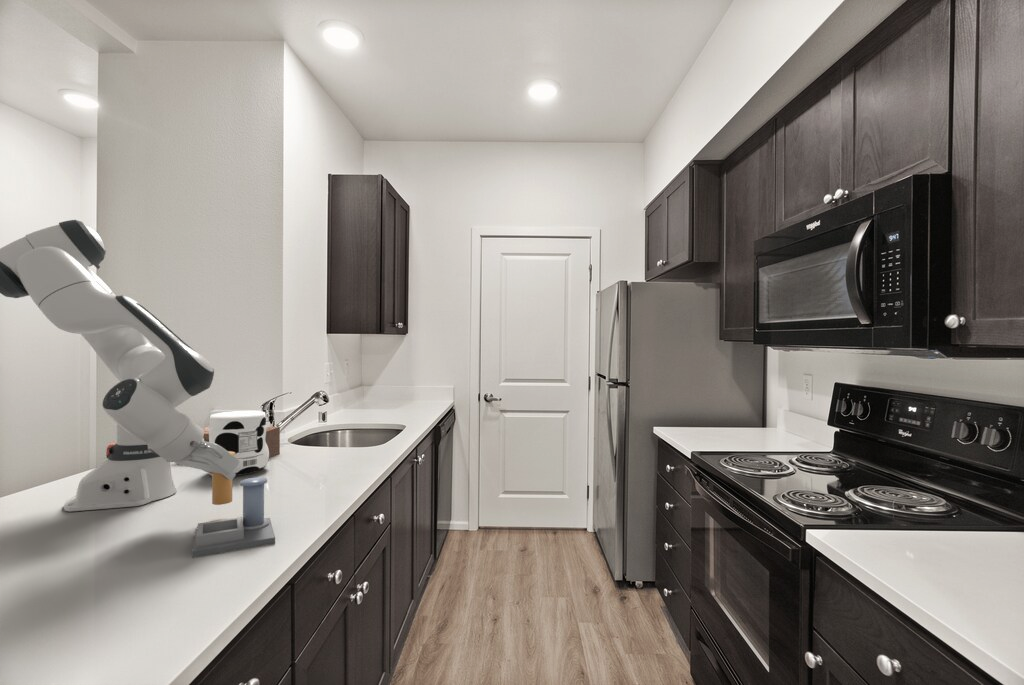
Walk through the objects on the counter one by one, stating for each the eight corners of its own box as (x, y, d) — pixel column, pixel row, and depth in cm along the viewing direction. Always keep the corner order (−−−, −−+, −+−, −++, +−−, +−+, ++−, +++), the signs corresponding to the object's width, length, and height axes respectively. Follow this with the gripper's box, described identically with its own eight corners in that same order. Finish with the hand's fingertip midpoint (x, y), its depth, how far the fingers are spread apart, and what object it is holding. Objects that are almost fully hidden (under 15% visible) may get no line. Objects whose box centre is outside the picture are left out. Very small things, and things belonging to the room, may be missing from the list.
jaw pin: (209, 507, 112) (208, 457, 112) (209, 500, 116) (209, 453, 116) (235, 503, 114) (235, 454, 114) (234, 497, 119) (234, 450, 119)
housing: (192, 557, 94) (192, 500, 94) (195, 534, 105) (195, 483, 105) (275, 543, 101) (275, 489, 101) (269, 523, 112) (270, 474, 112)
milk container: (227, 465, 165) (227, 410, 165) (279, 465, 164) (279, 410, 164) (191, 479, 148) (192, 417, 148) (250, 480, 147) (250, 418, 147)
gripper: (219, 432, 104) (262, 469, 113) (165, 424, 114) (209, 458, 123) (196, 458, 100) (243, 494, 109) (143, 447, 110) (190, 481, 119)
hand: (225, 475), depth 116 cm, fingers closed on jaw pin, 4 cm apart
